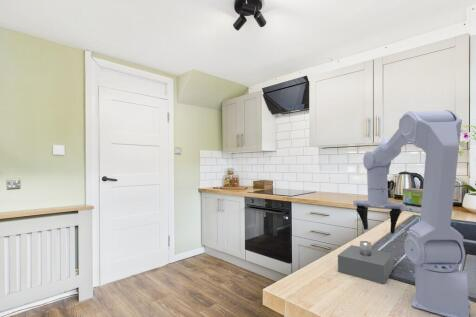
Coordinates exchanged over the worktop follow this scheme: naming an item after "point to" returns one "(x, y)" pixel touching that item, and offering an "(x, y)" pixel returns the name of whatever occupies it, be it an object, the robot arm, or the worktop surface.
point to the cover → (366, 262)
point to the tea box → (412, 199)
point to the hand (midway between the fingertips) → (378, 231)
